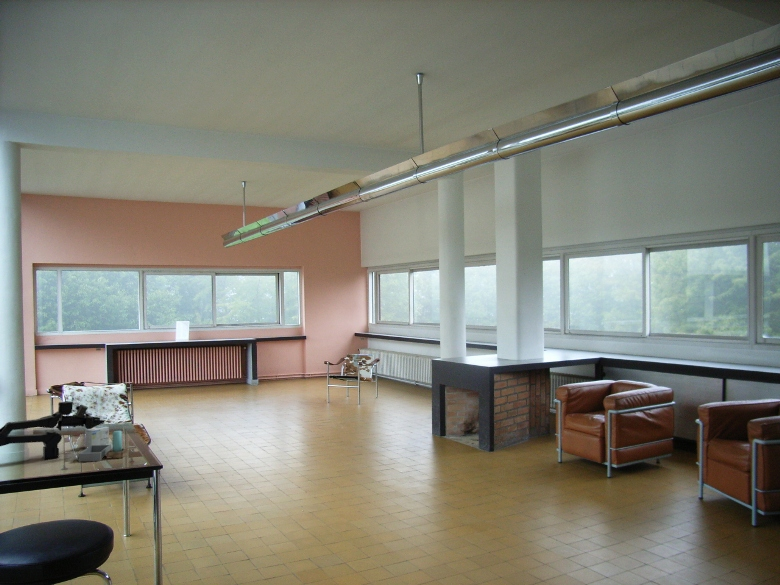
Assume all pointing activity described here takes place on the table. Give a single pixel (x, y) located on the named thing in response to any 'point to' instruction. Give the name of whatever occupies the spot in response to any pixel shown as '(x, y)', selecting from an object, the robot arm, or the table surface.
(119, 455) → the socket block
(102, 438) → the light bulb box
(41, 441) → the robot arm
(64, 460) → the table surface
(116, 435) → the dowel
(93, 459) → the tray
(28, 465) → the table surface
